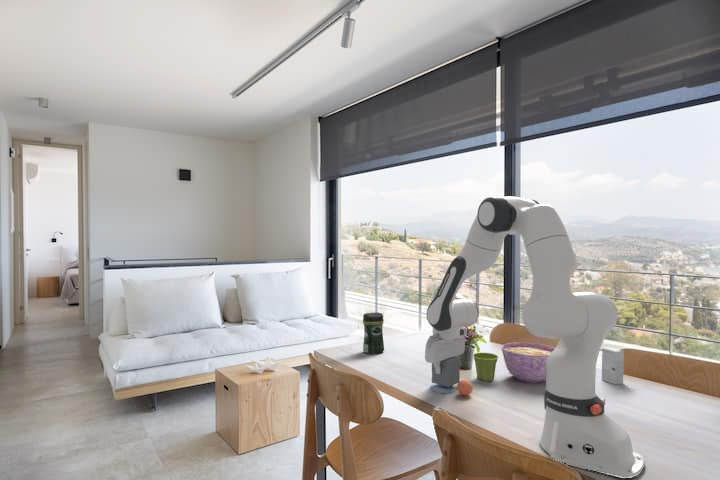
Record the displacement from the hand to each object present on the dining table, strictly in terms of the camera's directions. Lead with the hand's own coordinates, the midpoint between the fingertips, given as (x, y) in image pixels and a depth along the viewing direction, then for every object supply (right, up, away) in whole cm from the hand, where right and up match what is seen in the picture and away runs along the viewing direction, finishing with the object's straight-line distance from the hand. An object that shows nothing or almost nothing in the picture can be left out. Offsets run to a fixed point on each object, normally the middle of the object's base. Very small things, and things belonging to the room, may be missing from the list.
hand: (445, 370), depth 154 cm
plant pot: (+17, -6, +9) cm, 20 cm away
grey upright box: (0, -4, 0) cm, 4 cm away
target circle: (-2, -6, -2) cm, 6 cm away
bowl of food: (+33, -6, +8) cm, 35 cm away
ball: (+5, -3, -9) cm, 10 cm away
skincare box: (+63, -6, +5) cm, 63 cm away
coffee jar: (-24, -6, +48) cm, 54 cm away
